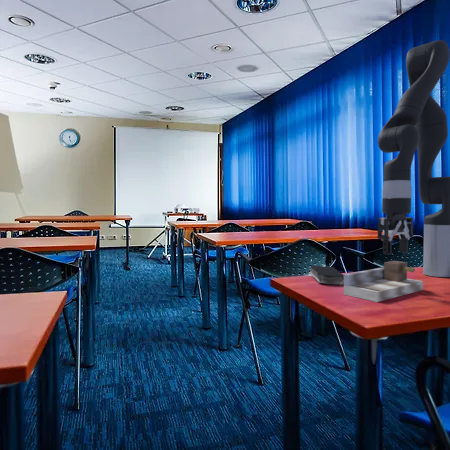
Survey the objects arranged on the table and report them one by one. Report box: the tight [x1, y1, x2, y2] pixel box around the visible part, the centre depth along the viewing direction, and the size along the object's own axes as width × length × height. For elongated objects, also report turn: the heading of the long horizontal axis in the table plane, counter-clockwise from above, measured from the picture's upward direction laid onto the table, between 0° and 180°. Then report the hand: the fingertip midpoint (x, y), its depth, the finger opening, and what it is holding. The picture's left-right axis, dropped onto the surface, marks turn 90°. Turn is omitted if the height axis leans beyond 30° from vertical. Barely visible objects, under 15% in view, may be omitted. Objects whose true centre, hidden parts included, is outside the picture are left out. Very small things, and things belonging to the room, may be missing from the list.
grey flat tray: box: [343, 266, 424, 303], centre depth 101 cm, size 22×10×6 cm, turn 125°
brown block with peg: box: [383, 260, 416, 282], centre depth 104 cm, size 5×8×5 cm, turn 35°
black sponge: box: [309, 265, 344, 286], centre depth 119 cm, size 16×8×4 cm, turn 177°
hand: (395, 253), depth 105 cm, fingers open, 8 cm apart
